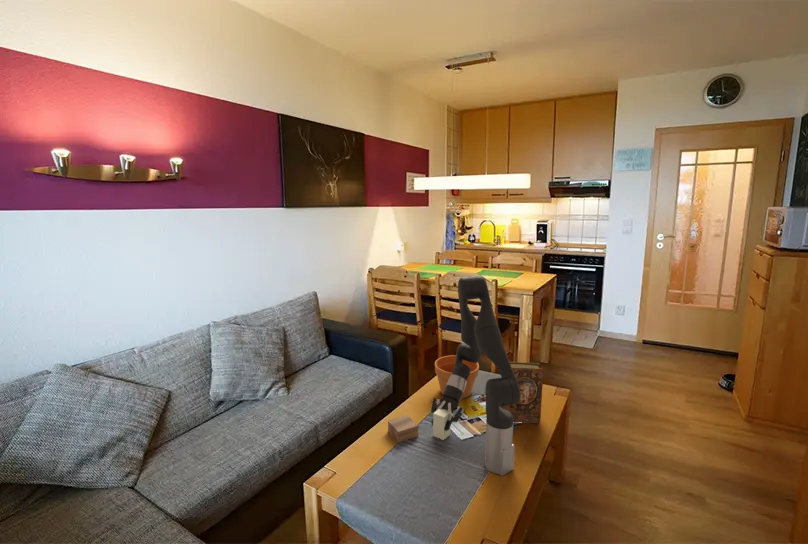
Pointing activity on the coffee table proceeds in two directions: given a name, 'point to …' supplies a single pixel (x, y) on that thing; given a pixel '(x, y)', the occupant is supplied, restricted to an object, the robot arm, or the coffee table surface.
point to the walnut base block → (402, 428)
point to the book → (527, 392)
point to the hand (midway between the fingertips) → (439, 427)
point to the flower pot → (445, 370)
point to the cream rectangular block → (440, 424)
